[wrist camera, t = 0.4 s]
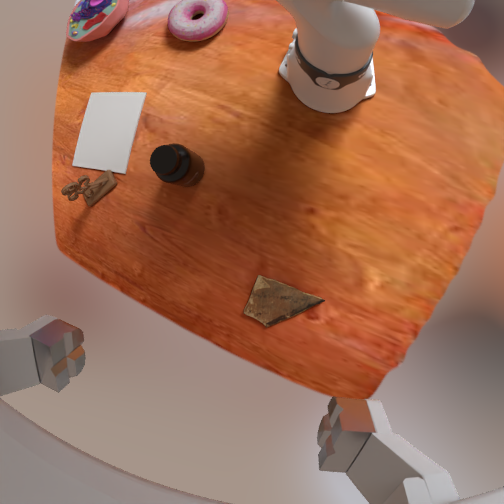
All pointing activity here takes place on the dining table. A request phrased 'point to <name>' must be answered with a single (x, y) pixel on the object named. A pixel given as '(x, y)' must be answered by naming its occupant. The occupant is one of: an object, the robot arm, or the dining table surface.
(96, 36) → the cell model
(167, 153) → the supplement bottle
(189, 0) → the donut
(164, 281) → the dining table surface
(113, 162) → the grey mat
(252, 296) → the shard
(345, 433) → the robot arm
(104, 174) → the brown openwork sculpture
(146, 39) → the dining table surface
